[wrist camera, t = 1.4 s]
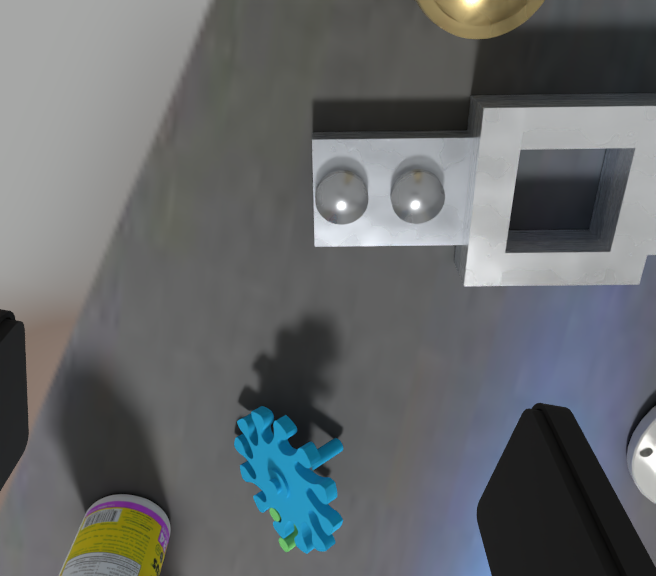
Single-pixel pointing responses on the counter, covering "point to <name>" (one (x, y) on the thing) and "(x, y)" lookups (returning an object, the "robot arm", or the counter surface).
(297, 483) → the gear
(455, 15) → the pin
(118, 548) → the supplement bottle
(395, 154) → the white studded link plate
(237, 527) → the counter surface
